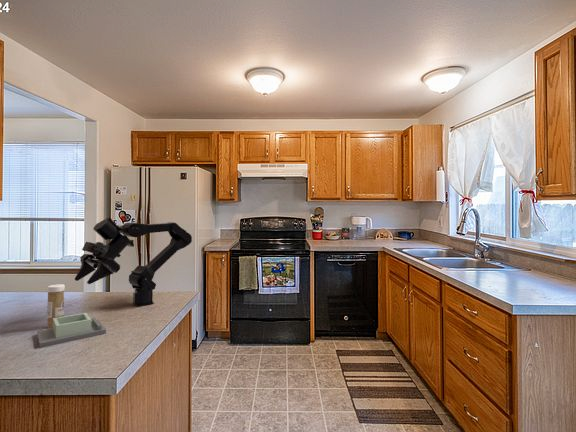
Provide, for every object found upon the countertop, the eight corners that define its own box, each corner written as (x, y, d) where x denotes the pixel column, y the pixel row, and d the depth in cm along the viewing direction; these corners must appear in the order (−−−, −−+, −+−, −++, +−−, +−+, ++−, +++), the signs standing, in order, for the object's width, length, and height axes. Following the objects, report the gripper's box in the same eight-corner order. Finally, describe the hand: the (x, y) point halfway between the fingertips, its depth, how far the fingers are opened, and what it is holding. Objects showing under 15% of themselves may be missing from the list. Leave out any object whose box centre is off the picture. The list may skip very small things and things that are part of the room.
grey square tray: (97, 323, 103) (98, 309, 103) (106, 333, 94) (106, 318, 94) (37, 334, 92) (37, 319, 92) (39, 347, 83) (40, 330, 83)
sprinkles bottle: (63, 326, 99) (64, 285, 99) (45, 329, 97) (46, 287, 97) (64, 322, 103) (65, 283, 103) (47, 324, 101) (48, 284, 101)
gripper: (86, 232, 116) (51, 265, 107) (112, 235, 106) (76, 270, 97) (107, 251, 123) (76, 283, 113) (133, 255, 113) (101, 290, 103)
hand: (81, 281), depth 106 cm, fingers open, 9 cm apart
